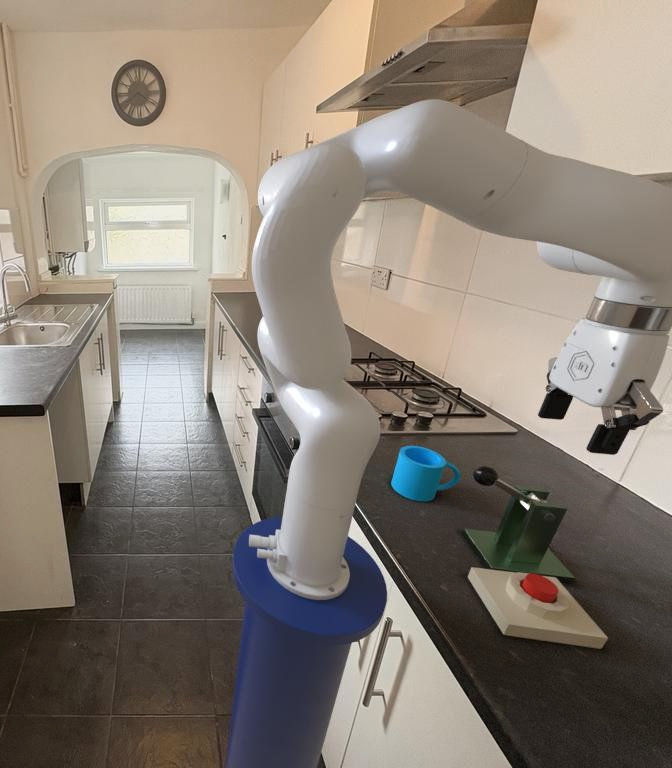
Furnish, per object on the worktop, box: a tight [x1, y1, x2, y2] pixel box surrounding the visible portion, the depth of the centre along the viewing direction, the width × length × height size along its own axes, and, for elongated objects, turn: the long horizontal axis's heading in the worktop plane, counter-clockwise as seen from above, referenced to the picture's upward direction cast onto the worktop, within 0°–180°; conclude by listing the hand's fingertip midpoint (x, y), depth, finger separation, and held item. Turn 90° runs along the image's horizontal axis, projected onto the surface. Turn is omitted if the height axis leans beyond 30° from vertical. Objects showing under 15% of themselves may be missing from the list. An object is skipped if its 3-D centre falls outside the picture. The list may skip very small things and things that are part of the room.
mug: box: [390, 445, 461, 502], centre depth 86 cm, size 12×8×8 cm
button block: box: [467, 566, 609, 650], centre depth 61 cm, size 12×10×4 cm
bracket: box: [462, 485, 576, 584], centre depth 68 cm, size 12×9×13 cm
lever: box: [472, 465, 549, 510], centre depth 66 cm, size 13×3×3 cm, turn 82°
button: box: [522, 574, 558, 603], centre depth 60 cm, size 4×4×2 cm
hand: (573, 434), depth 59 cm, fingers open, 9 cm apart
